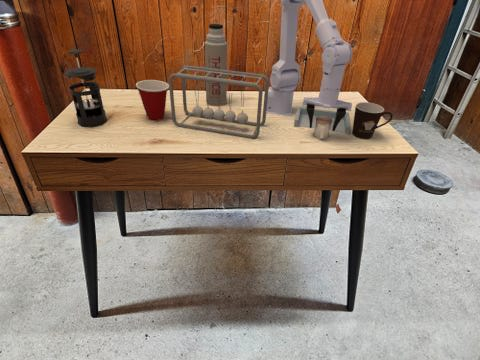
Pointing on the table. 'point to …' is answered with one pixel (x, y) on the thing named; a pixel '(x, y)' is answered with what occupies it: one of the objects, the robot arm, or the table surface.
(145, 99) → the plastic cup
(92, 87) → the french press
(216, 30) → the thermos bottle
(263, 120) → the newton's cradle
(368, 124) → the coffee mug
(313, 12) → the robot arm
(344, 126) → the caddy
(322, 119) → the cylinder with tab
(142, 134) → the table surface
